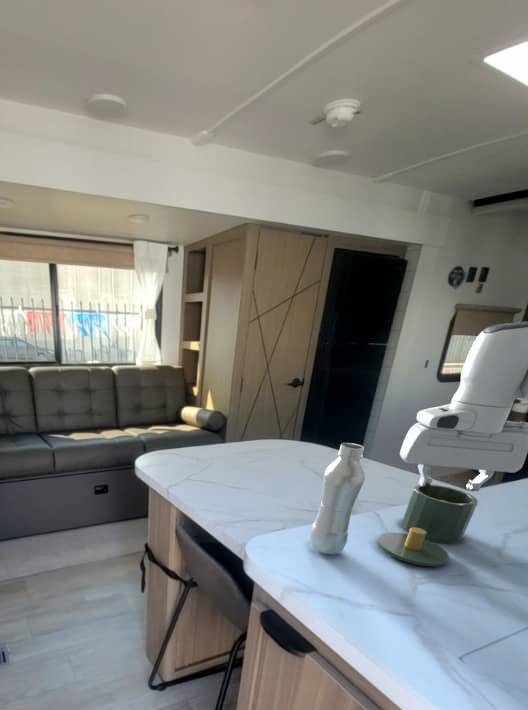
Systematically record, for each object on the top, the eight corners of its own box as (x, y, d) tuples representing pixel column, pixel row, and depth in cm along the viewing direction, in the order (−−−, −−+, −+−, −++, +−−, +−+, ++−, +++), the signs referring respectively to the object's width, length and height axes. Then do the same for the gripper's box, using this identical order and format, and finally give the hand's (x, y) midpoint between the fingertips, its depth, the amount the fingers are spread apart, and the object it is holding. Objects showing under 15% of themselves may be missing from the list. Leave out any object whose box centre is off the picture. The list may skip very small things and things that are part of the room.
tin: (446, 522, 89) (460, 487, 85) (471, 546, 79) (489, 507, 76) (394, 517, 90) (406, 482, 87) (413, 539, 81) (427, 501, 77)
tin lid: (429, 541, 81) (438, 520, 78) (458, 573, 70) (469, 550, 68) (368, 534, 82) (375, 513, 80) (388, 564, 72) (396, 541, 70)
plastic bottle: (308, 555, 74) (335, 449, 65) (304, 538, 80) (328, 439, 71) (346, 561, 72) (379, 453, 64) (339, 543, 78) (368, 442, 70)
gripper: (527, 419, 76) (496, 487, 82) (409, 411, 79) (388, 477, 85) (550, 427, 70) (516, 499, 76) (423, 417, 73) (399, 488, 79)
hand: (447, 487), depth 81 cm, fingers open, 7 cm apart
